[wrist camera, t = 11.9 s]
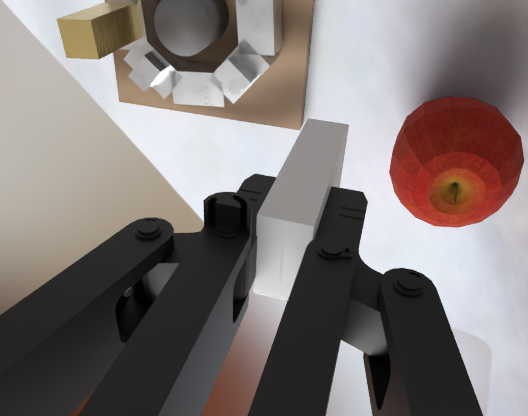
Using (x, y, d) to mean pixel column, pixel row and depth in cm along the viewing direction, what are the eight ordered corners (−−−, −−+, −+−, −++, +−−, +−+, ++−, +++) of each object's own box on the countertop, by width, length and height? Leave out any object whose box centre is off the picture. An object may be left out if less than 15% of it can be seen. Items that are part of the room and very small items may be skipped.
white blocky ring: (280, -84, 39) (242, -78, 31) (283, 99, 47) (253, 142, 39) (108, -79, 43) (34, -72, 35) (138, 90, 51) (84, 127, 43)
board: (100, -121, 43) (54, -123, 37) (324, -109, 39) (308, -109, 33) (126, 96, 54) (93, 119, 49) (302, 124, 50) (287, 151, 44)
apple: (437, 192, 50) (439, 280, 38) (371, 123, 48) (354, 194, 36) (534, 131, 44) (570, 214, 33) (464, 49, 42) (477, 107, 31)
